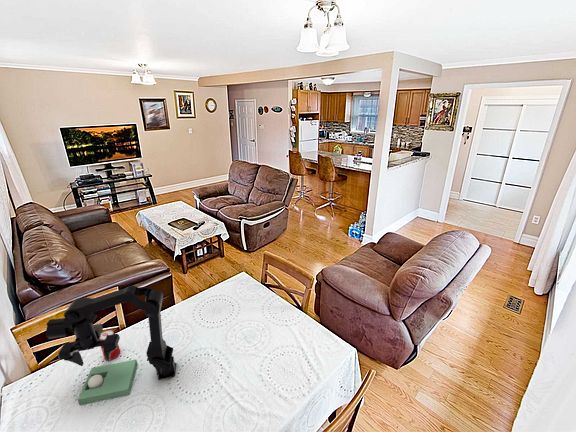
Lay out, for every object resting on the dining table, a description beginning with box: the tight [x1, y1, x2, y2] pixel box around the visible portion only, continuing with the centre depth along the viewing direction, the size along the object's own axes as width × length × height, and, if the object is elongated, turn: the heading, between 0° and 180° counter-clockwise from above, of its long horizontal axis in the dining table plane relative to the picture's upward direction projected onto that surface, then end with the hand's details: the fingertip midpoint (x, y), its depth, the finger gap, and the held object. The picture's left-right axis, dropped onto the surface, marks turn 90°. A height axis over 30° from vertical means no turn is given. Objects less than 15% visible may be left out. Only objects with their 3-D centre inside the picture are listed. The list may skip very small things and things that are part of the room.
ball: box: [88, 375, 104, 389], centre depth 112 cm, size 5×5×5 cm
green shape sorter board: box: [77, 359, 139, 406], centre depth 114 cm, size 17×14×3 cm
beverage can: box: [98, 329, 121, 361], centre depth 124 cm, size 6×6×12 cm
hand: (96, 362), depth 110 cm, fingers open, 9 cm apart
